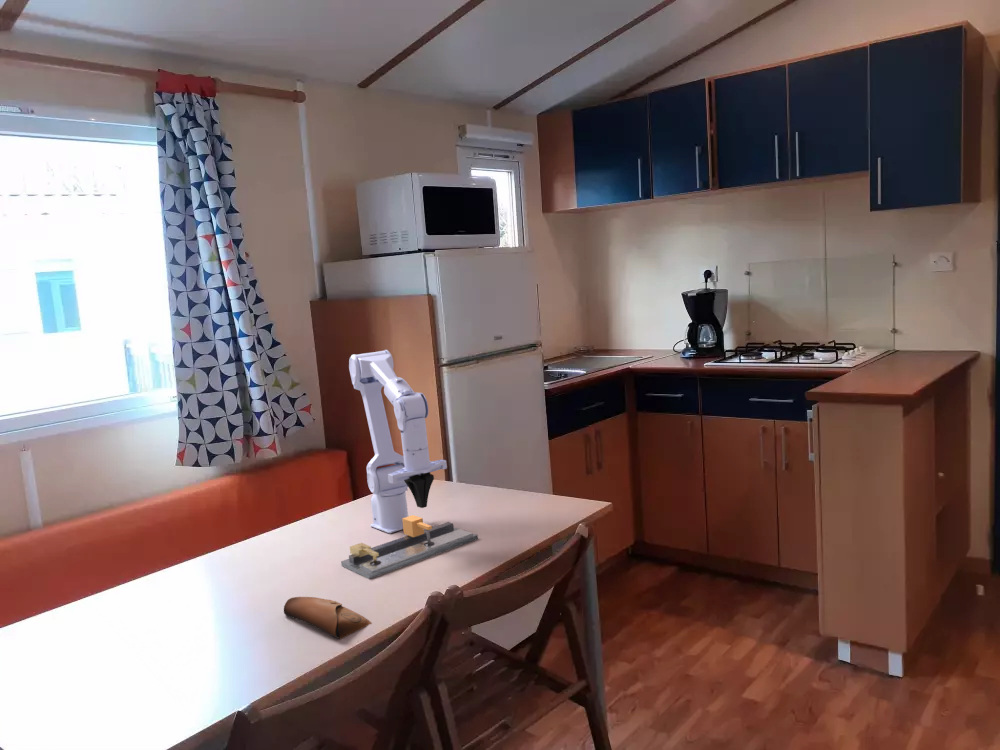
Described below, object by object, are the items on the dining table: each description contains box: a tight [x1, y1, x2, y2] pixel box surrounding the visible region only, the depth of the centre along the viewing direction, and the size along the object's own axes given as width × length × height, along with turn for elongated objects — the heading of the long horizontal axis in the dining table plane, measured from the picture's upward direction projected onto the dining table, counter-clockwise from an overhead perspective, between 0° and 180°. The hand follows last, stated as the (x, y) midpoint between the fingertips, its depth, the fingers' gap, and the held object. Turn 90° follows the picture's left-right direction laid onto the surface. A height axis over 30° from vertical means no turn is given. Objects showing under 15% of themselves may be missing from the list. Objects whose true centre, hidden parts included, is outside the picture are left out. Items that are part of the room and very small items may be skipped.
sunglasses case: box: [283, 596, 372, 640], centre depth 148 cm, size 18×7×7 cm
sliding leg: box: [402, 514, 433, 543], centre depth 182 cm, size 9×3×4 cm, turn 39°
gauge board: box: [340, 521, 479, 580], centre depth 180 cm, size 12×29×4 cm, turn 129°
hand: (422, 506), depth 180 cm, fingers closed
